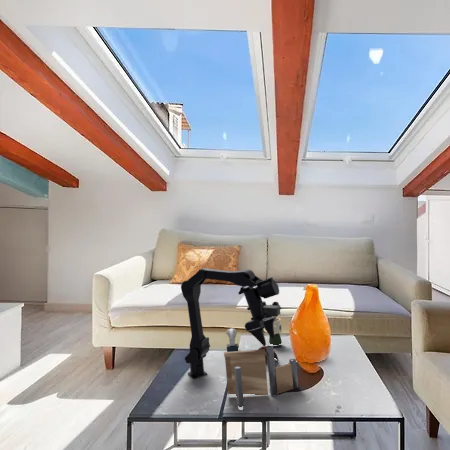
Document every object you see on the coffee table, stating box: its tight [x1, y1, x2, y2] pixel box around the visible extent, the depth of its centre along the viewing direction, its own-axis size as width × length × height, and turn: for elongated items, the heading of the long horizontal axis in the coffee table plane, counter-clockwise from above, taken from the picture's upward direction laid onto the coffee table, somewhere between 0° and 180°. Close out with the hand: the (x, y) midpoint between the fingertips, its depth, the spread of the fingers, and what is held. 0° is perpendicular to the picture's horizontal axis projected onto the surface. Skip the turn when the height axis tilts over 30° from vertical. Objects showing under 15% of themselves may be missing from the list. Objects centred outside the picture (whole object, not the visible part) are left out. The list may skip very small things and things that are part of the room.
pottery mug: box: [257, 345, 280, 363], centre depth 167 cm, size 12×10×8 cm
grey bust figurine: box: [225, 328, 240, 352], centre depth 184 cm, size 6×8×11 cm
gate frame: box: [234, 345, 299, 407], centre depth 133 cm, size 4×26×17 cm, turn 117°
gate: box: [223, 349, 269, 396], centre depth 135 cm, size 2×14×16 cm, turn 87°
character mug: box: [266, 317, 283, 345], centre depth 187 cm, size 11×7×13 cm, turn 0°
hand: (269, 341), depth 145 cm, fingers open, 9 cm apart
